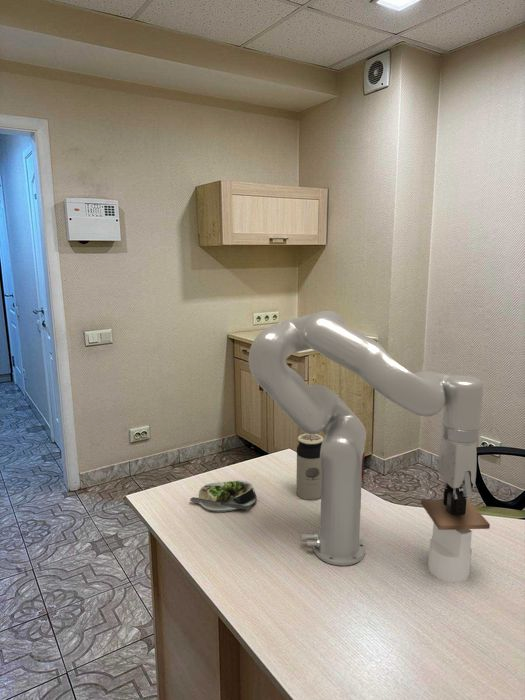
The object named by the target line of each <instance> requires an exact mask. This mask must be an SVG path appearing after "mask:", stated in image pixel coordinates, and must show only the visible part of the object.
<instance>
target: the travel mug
mask: <svg viewBox="0 0 525 700" xmlns="http://www.w3.org/2000/svg"><path fill="white" fill-rule="evenodd" d="M323 439H324V437H323V436H322V435H320V434H319V433H317V434H307V433H303V434H300V435H299V436H298V437H297V441H298V445H297V447H296V484H295V486H296V488H295V489H296V490H295V491H296V492H295V493H296V496H298V497H299V498H301V499H304V500H308V501H314V500H317V499H321V465H320V450H321V445H322V442H323Z"/></svg>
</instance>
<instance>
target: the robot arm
mask: <svg viewBox="0 0 525 700" xmlns="http://www.w3.org/2000/svg"><path fill="white" fill-rule="evenodd" d="M307 350H313V351H314V352H316V353H318V354H320V355H321V356H323V357H325V358H327V359H329V360H330V361H333V362H334V363H336V364H337V365H339V366H342V367H343V368H345V369H346V370H348V371H350V372H351V373H353V374H355V375H357V376H358V377H360V378H361V379H362V380H363V381H364V382H365V384H368V385H369V386H370V387H371V388H373V389H374V390H375V391H377V392H378V393H379V394H380V395H382V396H383V397H385V398H386V399H388V400H389V401H391V402H392V403H394V404H396V405H398V406H400V407H401V408H403V409H405V410H406V411H408V412H410V413H413V414H415V415H417V416H420V417H427V418H428V417H433V416H436V415H437V414H439V413H440V412H441V411H443V412H442V413H443V414H442V425H441V436H440V437H441V438H440V441H439V448H438V458H437V465H436V467H437V468H436V469H437V472H438V473H439V475H440V476H441V477H442V478H443V481H444V482H443V486H444V488H443V499H444V500H443V504H444V505H445V506H447V497H448V493H449V492H453V497H451V507H450V513H451V515H464V514H465V512H466V500H467V499H468V500H469V497H470V498H471V497H472V496H473V491H472V489H474V488H475V485H476V478H477V461H478V460H477V453H478V452H477V444H478V443H479V439H480V429H481V428H480V426H481V419H482V418H481V417H482V406H483V395H484V384H483V381H482V380H480V379H479V378H478V377H475V376H472V375H465V374H457V375H456V374H455V375H451V374H445V373H441V372H437V371H430V370H422V371H418V372H416V373H413V372H412V371H410V370H408V369H407V368H406V367H404V366H402V365H401V364H399V363H398V362H397V361H396V360H395V359H393V357H391V355H390V354H389V353H388V352H387V350H386V349H385V348H384V347H383V346H382V345H381V344H380V343H379V342H378V341H377V340H375V339H373V338H370V337H368V336H367V335H365V334H363V333H361V332H360V331H358V330H356V329H353V328H352V327H350V326H348V325H346V324H345V321H344V319H343V318H342V317H341V316H340V315H339V314H338V313H337V312H335V311H332V310H322V311H318V312H315V313H310V314H307V315H306V314H305V315H303V316H299V317H295V318H291V319H286V320H282V321H279V322H277V323H274V324H273V325H271V326H269V327H267V328H265V329H263V330H262V331H261V332H259V333H258V334H257V336H255V338H254V340H253V342H252V344H251V345H250V348H249V354H248V366H249V367H248V368H249V370H250V373H251V375H252V377H253V379H254V381H256V383H257V384H258V385H259V386H260V387H261V388H262V390H264V391H265V392H266V394H268V395H269V397H270V398H271V399H272V400H273V401H274V402H275V404H277V406H278V407H279V408H280V409H281V410H282V411H283V413H284V414H285V415H286V416H287V417H288V418H289V419H290V420H291V421H292V423H294V425H295V426H296V427H297V428H298V429H299V430H300V431H302V432H303V433H304V434H319V433H321V432H322V433H323V434H324V437H323V441H322V445H321V450H320V465H321V497H320V516H319V517H320V522H319V523H320V524H319V527H317V530H316V531H313V533H308V532H303V533H300V540H301V542H306V545H307V546H306V547H312V548H313V552H314V554H315V555H316V556H317V557H318V558H319V559H320V560H322V561H323V562H325V563H328V564H330V565H335V566H343V567H344V566H352V565H354V564H355V565H356V564H358V563H359V562H361V561H362V560H363V559H364V557H365V556H366V546H365V543H364V542H363V541H362V540H361V539H360V534H361V533H360V529H361V528H360V527H361V511H362V510H361V507H362V506H361V505H362V484H361V481H362V457H363V451H365V447H366V440H367V430H366V428H365V426H364V423H363V422H362V420H360V419H359V417H357V415H356V414H355V413H354V412H353V410H351V408H349V406H348V405H346V403H345V402H344V401H343V400H342V399H341V398H340V396H338V395H337V394H336V393H335V392H334V391H333V390H331V389H330V388H329V387H327V386H325V385H321V384H312V385H309V384H308V383H307V381H305V380H304V379H303V377H302V376H301V375H300V374H298V372H297V371H295V370H294V369H293V368H291V367H290V366H289V365H288V364H287V362H286V361H287V359H288V358H289V357H290V356H291V355H292V354H294V353H298V352H299V353H300V352H302V351H307ZM460 489H461V490H460Z"/></svg>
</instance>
